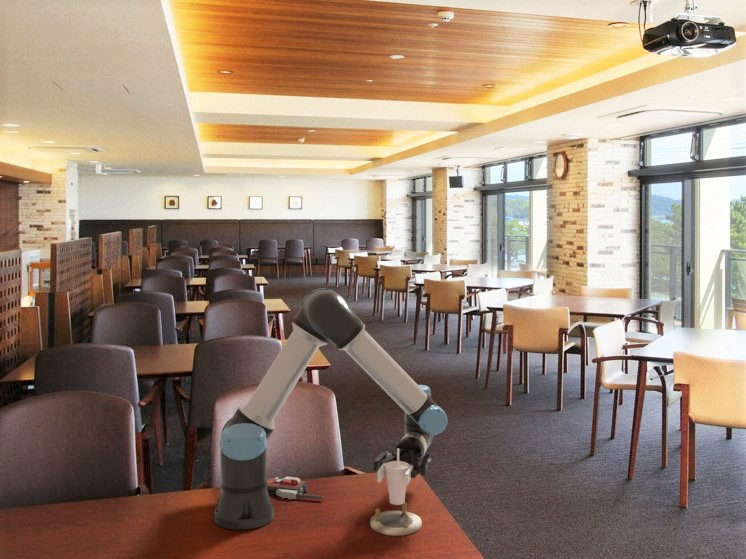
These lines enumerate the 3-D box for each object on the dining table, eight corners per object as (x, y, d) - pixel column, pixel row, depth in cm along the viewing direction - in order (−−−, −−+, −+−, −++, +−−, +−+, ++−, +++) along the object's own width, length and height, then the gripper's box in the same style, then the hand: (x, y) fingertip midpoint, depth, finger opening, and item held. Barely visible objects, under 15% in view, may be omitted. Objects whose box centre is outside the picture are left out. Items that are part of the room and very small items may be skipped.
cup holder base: (360, 528, 179) (360, 513, 178) (385, 510, 190) (385, 496, 190) (407, 539, 172) (407, 523, 172) (430, 520, 184) (430, 505, 183)
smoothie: (392, 508, 176) (392, 453, 175) (380, 500, 182) (379, 446, 181) (414, 504, 179) (414, 449, 178) (401, 495, 185) (401, 442, 184)
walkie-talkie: (254, 497, 200) (322, 504, 195) (254, 481, 200) (322, 488, 195) (266, 486, 209) (331, 492, 204) (266, 471, 208) (331, 477, 204)
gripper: (445, 465, 195) (431, 496, 173) (377, 460, 200) (354, 489, 178) (445, 438, 195) (431, 466, 172) (377, 434, 200) (354, 460, 177)
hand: (392, 478), depth 175 cm, fingers closed on smoothie, 6 cm apart
